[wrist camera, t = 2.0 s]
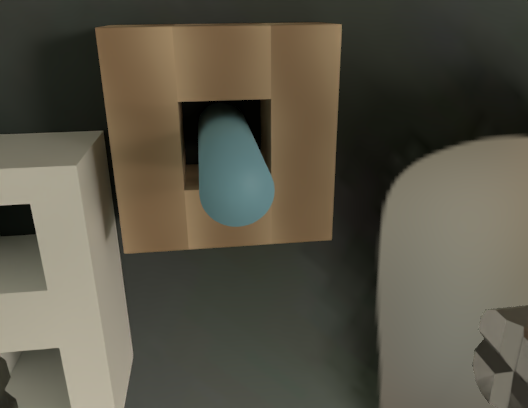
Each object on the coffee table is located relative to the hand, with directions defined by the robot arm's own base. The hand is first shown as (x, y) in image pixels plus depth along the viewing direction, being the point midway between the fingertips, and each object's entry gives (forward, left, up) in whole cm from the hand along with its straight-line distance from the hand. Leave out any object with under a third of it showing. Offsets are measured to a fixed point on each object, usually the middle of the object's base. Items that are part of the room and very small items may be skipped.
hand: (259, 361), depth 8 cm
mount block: (0, 0, -18) cm, 18 cm away
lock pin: (0, 0, -18) cm, 18 cm away
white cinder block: (+10, +7, -18) cm, 22 cm away
